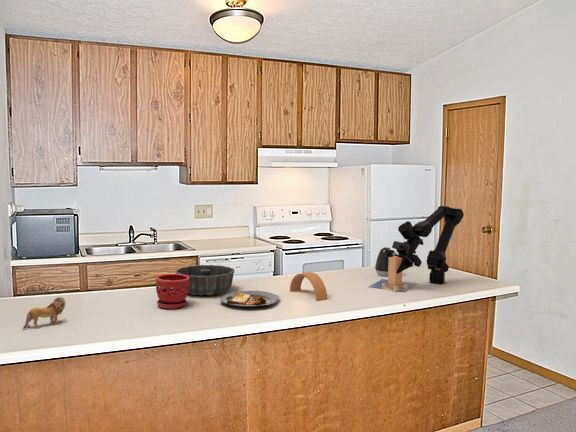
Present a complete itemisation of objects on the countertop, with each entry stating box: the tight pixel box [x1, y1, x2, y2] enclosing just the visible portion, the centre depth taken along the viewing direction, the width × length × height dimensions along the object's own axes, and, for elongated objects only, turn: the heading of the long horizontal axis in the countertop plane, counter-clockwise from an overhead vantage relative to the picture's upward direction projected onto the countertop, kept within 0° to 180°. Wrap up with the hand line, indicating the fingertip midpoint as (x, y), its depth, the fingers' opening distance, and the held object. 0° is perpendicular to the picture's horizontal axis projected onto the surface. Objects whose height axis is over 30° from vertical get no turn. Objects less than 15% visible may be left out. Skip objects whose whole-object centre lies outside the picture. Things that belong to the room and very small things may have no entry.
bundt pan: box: [174, 264, 236, 297], centre depth 223 cm, size 26×26×10 cm
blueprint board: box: [368, 278, 418, 293], centre depth 237 cm, size 18×20×1 cm
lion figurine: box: [22, 296, 66, 330], centre depth 174 cm, size 15×5×9 cm, turn 140°
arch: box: [289, 271, 328, 302], centre depth 219 cm, size 6×20×10 cm, turn 34°
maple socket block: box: [381, 283, 408, 293], centre depth 229 cm, size 8×8×2 cm
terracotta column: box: [387, 256, 403, 287], centre depth 228 cm, size 4×4×14 cm
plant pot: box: [155, 273, 189, 310], centre depth 200 cm, size 13×13×12 cm
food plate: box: [219, 290, 280, 308], centre depth 207 cm, size 25×23×4 cm
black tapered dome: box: [374, 246, 391, 278], centre depth 259 cm, size 10×10×15 cm
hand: (393, 271), depth 228 cm, fingers closed on terracotta column, 4 cm apart
